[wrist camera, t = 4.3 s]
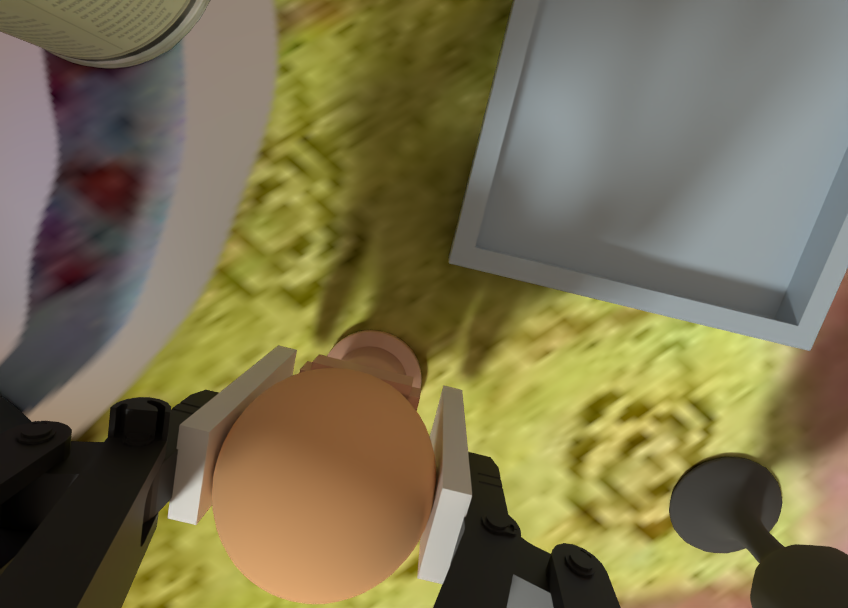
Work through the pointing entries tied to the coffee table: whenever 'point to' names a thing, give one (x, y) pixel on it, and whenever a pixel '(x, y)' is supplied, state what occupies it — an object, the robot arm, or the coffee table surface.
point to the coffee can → (101, 27)
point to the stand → (376, 361)
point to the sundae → (756, 534)
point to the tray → (669, 159)
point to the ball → (324, 485)
